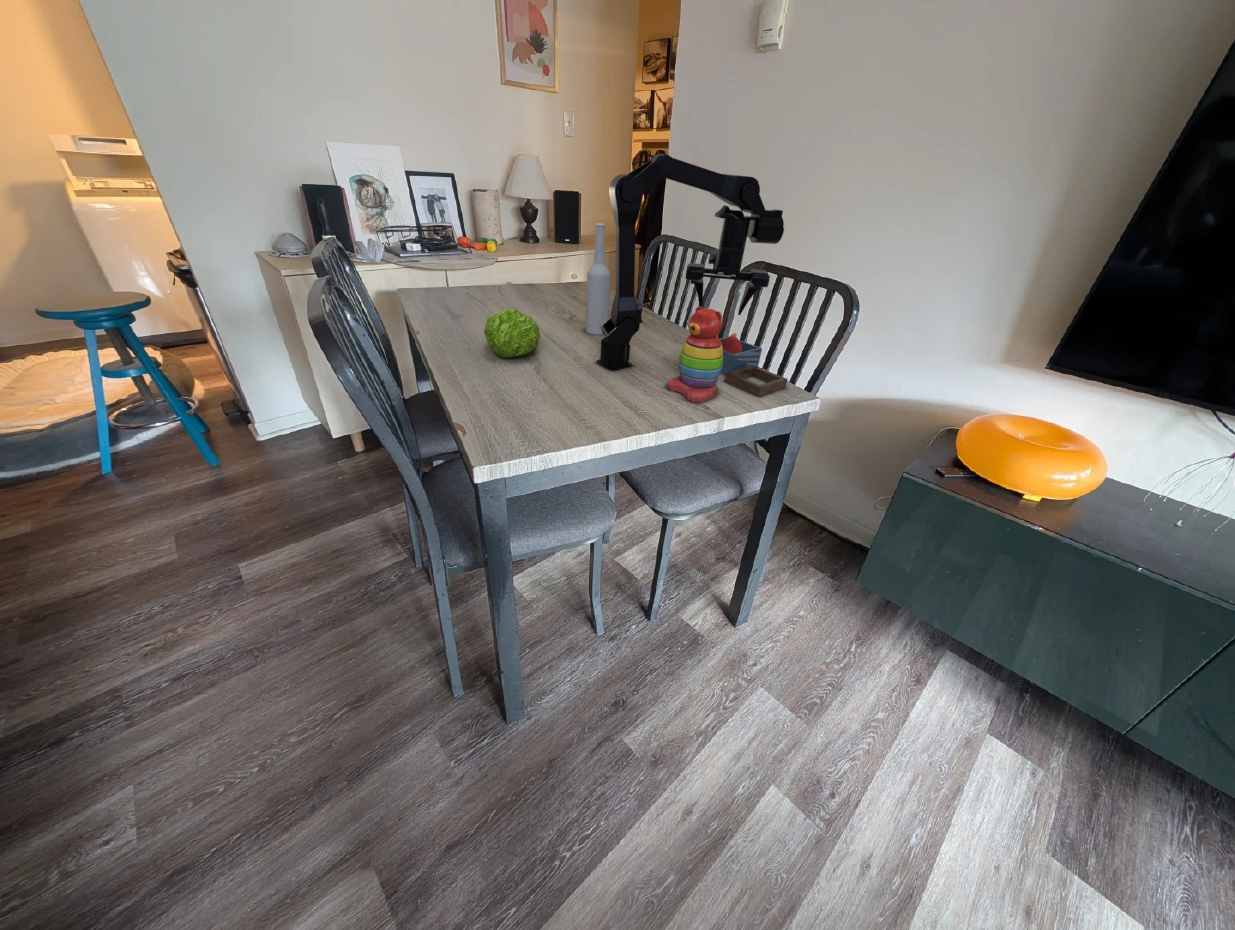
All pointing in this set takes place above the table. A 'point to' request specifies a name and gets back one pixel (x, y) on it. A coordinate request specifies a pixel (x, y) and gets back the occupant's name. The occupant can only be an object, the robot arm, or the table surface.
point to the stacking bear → (700, 357)
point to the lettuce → (511, 333)
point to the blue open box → (740, 358)
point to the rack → (771, 386)
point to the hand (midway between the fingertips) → (719, 312)
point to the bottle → (597, 287)
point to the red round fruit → (732, 344)
